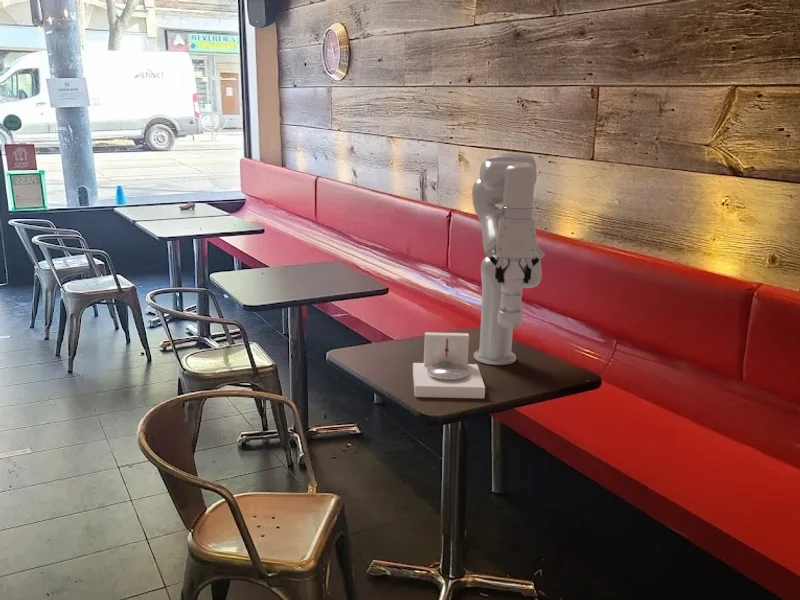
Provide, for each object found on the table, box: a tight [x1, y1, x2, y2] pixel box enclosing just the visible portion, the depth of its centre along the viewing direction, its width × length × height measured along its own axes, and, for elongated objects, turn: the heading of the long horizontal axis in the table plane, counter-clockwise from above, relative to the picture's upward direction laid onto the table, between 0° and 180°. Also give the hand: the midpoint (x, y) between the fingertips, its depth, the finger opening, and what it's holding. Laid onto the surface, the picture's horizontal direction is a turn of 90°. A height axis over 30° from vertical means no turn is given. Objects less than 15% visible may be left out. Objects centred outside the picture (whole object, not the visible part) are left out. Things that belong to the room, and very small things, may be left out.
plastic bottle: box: [497, 259, 526, 330], centre depth 197 cm, size 6×7×20 cm
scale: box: [412, 331, 486, 399], centre depth 201 cm, size 18×18×12 cm
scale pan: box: [427, 363, 468, 380], centre depth 201 cm, size 11×11×1 cm
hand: (512, 281), depth 196 cm, fingers closed on plastic bottle, 6 cm apart
